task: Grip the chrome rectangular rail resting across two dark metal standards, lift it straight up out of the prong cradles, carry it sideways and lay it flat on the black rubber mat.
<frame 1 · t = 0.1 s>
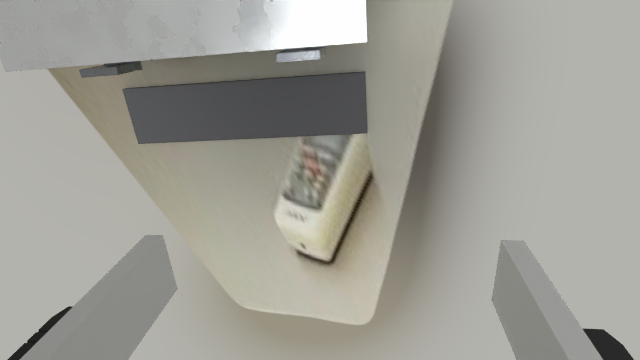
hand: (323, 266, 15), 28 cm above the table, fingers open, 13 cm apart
standards: (238, 18, 38), on the table
mat: (244, 109, 42), on the table
rail: (201, 20, 30), point 9 cm above the table, touching standards
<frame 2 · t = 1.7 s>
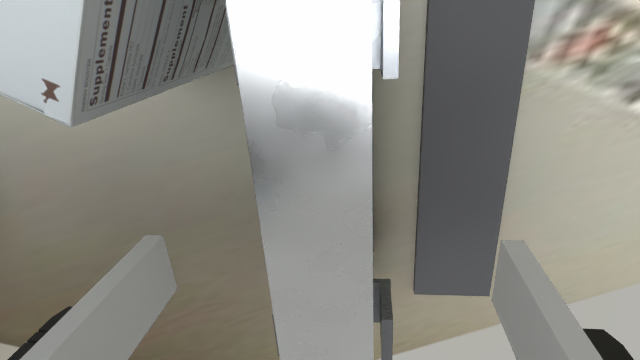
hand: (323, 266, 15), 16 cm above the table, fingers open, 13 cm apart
standards: (340, 139, 29), on the table
mat: (463, 148, 28), on the table
rail: (330, 190, 21), point 9 cm above the table, touching standards
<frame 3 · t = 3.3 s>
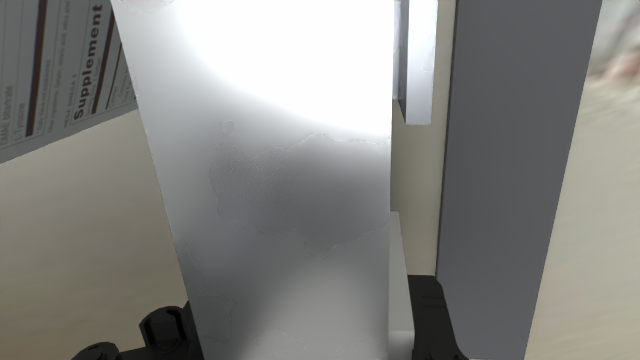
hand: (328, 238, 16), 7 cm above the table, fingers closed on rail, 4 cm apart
standards: (341, 173, 23), on the table
mat: (497, 187, 22), on the table
rail: (324, 261, 15), point 9 cm above the table, touching gripper, standards
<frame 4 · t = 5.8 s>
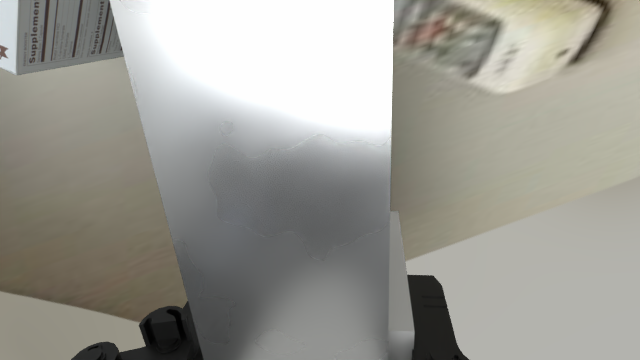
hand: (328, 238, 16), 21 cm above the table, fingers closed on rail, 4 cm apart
rail: (324, 262, 15), point 23 cm above the table, touching gripper
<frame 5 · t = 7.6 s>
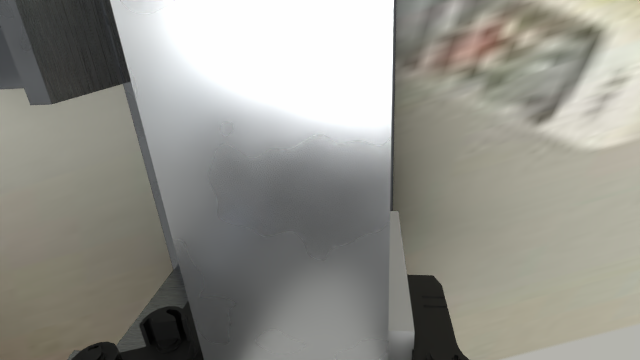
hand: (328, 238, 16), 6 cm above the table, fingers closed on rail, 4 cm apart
standards: (188, 165, 23), on the table
mat: (338, 178, 22), on the table
rail: (324, 262, 15), point 8 cm above the table, touching gripper
when the fingers open (2 cm above the table, at t = 8.8 s): rail drops 3 cm, resting on mat.
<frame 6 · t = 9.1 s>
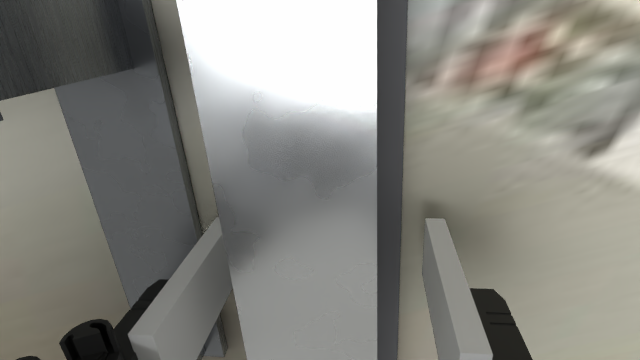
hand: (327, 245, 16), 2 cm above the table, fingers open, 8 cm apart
standards: (148, 201, 19), on the table
mat: (332, 220, 18), on the table
rail: (326, 226, 17), point 1 cm above the table, touching mat
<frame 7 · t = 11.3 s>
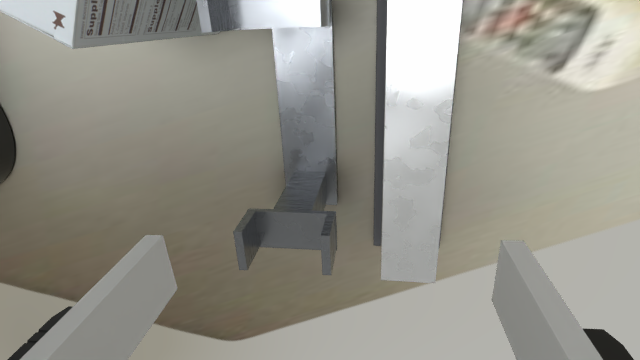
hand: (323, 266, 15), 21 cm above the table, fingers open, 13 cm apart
standards: (307, 101, 34), on the table
mat: (412, 111, 32), on the table
rail: (410, 113, 32), point 1 cm above the table, touching mat
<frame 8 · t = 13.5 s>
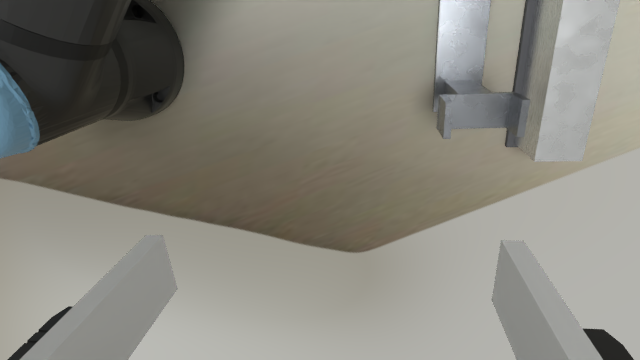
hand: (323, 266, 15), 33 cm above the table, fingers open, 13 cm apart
standards: (462, 16, 39), on the table
mat: (555, 20, 39), on the table
rail: (556, 21, 38), point 1 cm above the table, touching mat
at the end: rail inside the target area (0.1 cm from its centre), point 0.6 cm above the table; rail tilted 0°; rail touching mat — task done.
